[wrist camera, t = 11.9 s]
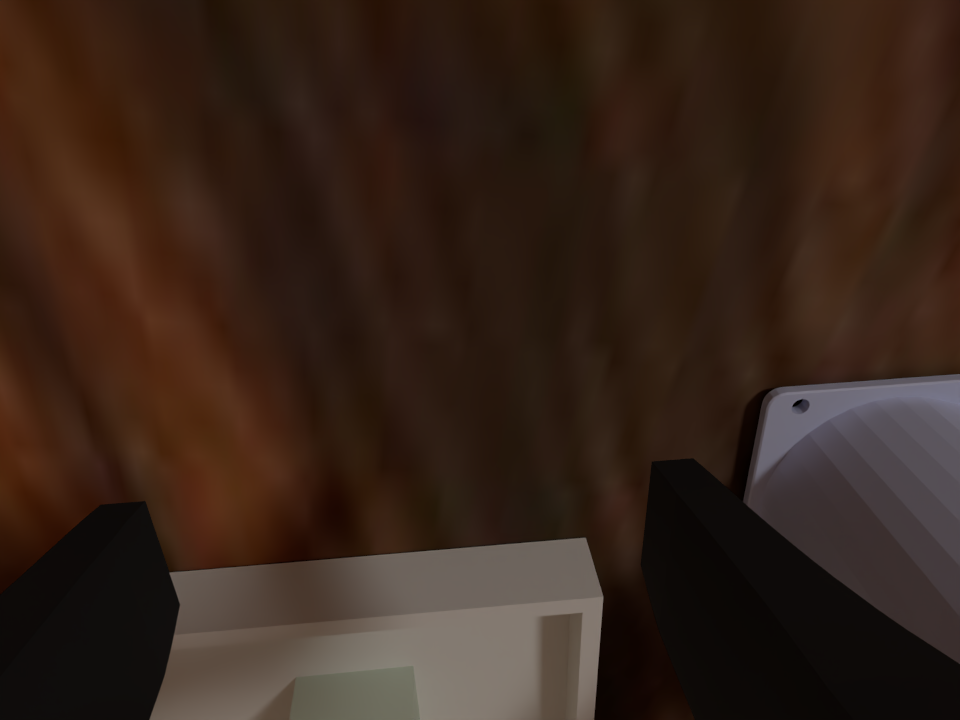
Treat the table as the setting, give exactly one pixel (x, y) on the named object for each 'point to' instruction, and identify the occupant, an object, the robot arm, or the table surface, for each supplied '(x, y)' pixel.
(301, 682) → the sage block
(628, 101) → the table surface
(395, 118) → the table surface
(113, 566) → the robot arm
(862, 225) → the table surface
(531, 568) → the serving tray
